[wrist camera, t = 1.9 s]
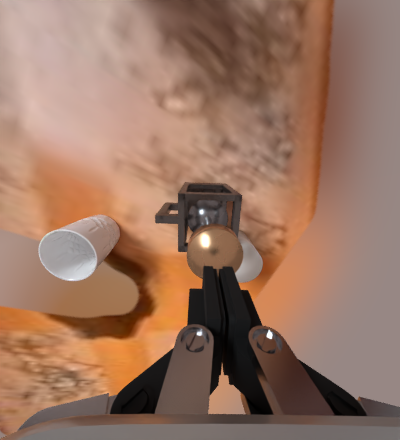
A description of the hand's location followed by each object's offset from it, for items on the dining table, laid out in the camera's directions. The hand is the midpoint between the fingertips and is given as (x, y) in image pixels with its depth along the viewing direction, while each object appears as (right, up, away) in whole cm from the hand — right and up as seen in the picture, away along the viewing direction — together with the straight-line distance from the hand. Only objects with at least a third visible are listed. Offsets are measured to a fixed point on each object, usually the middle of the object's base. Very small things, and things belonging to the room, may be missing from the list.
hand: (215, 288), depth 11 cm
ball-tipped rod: (0, +4, +14) cm, 15 cm away
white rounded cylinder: (+6, -1, +26) cm, 27 cm away
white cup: (-19, +2, +25) cm, 32 cm away
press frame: (-2, +7, +23) cm, 25 cm away
